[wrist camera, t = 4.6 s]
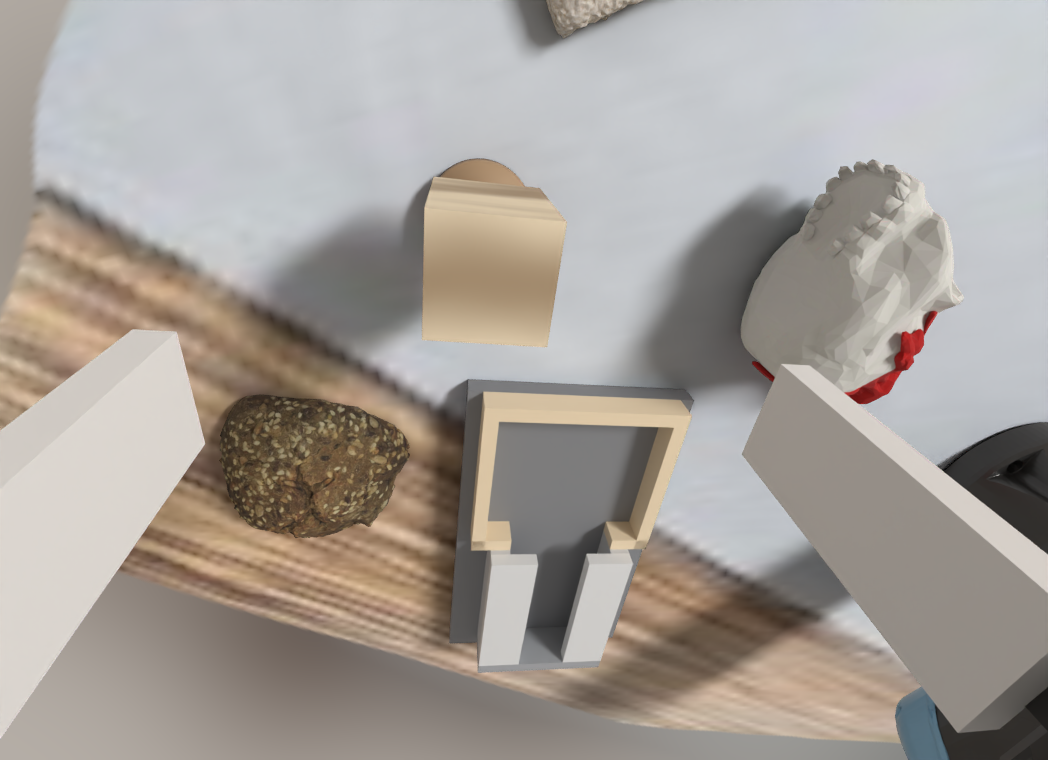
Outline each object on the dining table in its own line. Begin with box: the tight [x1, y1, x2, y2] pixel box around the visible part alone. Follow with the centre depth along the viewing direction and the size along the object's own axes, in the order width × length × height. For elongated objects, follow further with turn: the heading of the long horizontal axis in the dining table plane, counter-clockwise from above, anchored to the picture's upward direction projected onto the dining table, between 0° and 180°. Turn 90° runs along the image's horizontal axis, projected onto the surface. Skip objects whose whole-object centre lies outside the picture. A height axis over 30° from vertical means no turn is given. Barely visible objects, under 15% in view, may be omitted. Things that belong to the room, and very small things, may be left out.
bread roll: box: [219, 395, 410, 538], centre depth 34 cm, size 13×12×5 cm
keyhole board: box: [449, 379, 694, 673], centre depth 40 cm, size 28×16×5 cm, turn 173°
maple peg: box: [422, 159, 567, 347], centre depth 23 cm, size 6×6×12 cm
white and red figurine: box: [741, 159, 964, 404], centre depth 30 cm, size 9×11×15 cm
